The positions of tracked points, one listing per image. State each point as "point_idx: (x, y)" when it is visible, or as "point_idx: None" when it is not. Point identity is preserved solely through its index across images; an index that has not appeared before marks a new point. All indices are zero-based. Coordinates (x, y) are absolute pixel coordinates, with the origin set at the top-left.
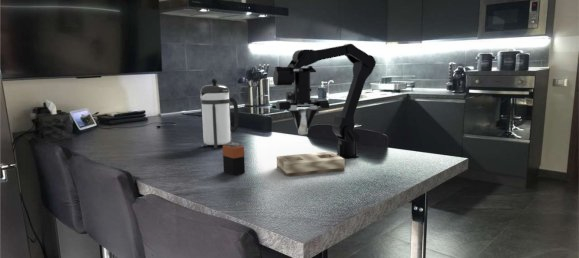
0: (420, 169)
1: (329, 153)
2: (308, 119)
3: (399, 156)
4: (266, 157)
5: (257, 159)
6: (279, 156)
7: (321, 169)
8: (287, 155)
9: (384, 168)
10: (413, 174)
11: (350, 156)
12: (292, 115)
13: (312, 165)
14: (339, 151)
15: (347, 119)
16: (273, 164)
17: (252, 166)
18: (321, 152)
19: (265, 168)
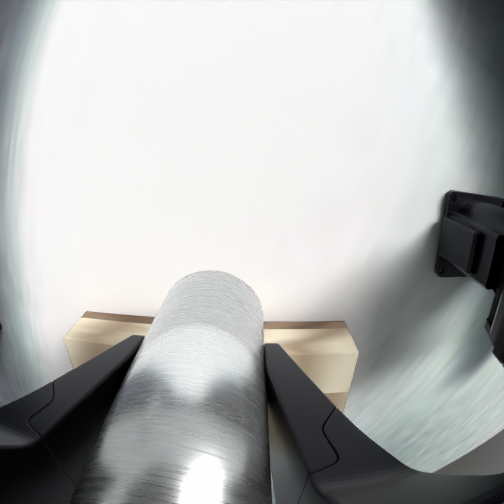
0: (478, 429)
1: (330, 384)
2: (275, 458)
3: None
4: (70, 92)
5: (29, 128)
6: (74, 347)
7: None
8: (109, 347)
9: (434, 419)
10: (434, 458)
11: (464, 274)
12: (5, 419)
13: None
14: (449, 253)
15: None
16: (76, 252)
17: (9, 252)
18: (306, 355)
19: (48, 302)
